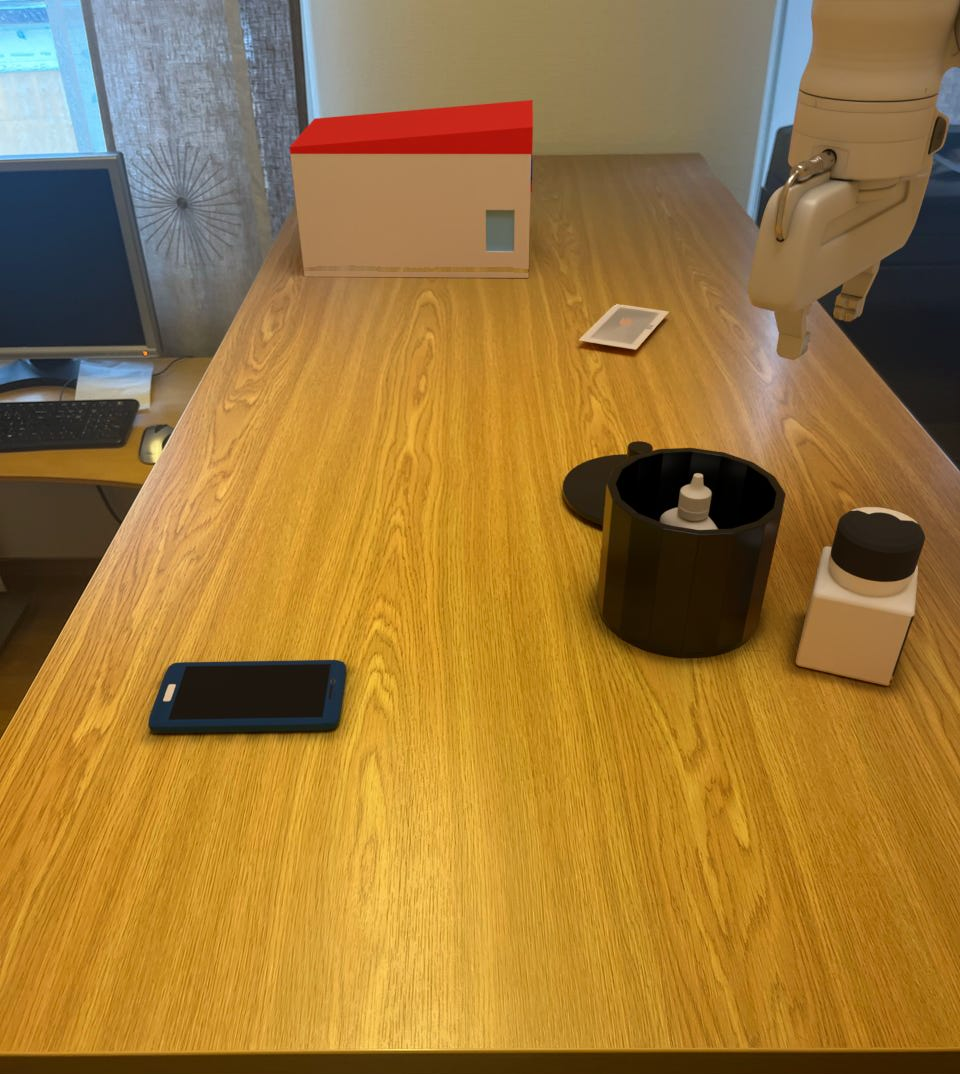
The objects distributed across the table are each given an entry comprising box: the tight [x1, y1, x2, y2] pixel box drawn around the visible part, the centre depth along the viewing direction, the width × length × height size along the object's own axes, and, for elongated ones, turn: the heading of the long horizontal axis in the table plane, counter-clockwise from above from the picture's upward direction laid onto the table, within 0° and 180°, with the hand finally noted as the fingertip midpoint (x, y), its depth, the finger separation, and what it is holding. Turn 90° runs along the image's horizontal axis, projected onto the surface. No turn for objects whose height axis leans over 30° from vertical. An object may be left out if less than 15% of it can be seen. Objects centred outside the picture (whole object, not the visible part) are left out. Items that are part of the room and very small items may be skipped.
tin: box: [596, 447, 786, 659], centre depth 79 cm, size 13×13×12 cm
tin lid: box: [561, 440, 654, 527], centre depth 95 cm, size 14×14×6 cm
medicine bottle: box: [795, 506, 926, 686], centre depth 74 cm, size 7×7×12 cm
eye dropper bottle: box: [659, 473, 718, 530], centre depth 79 cm, size 4×6×12 cm
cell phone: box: [147, 659, 347, 734], centre depth 73 cm, size 7×14×1 cm, turn 91°
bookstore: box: [289, 99, 534, 279], centre depth 152 cm, size 21×35×21 cm, turn 88°
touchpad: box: [578, 303, 670, 351], centre depth 131 cm, size 8×15×2 cm, turn 155°
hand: (819, 336), depth 75 cm, fingers open, 8 cm apart
